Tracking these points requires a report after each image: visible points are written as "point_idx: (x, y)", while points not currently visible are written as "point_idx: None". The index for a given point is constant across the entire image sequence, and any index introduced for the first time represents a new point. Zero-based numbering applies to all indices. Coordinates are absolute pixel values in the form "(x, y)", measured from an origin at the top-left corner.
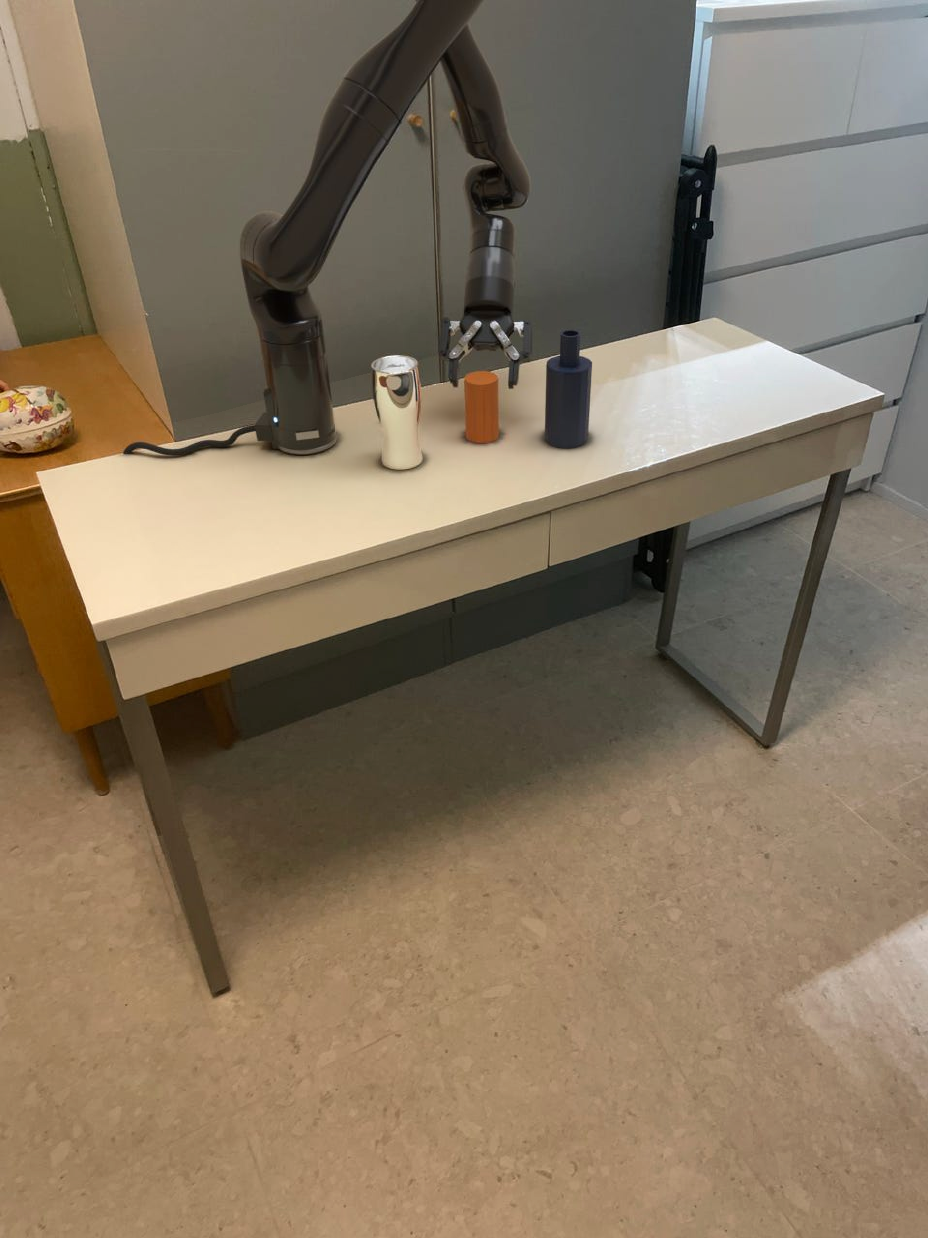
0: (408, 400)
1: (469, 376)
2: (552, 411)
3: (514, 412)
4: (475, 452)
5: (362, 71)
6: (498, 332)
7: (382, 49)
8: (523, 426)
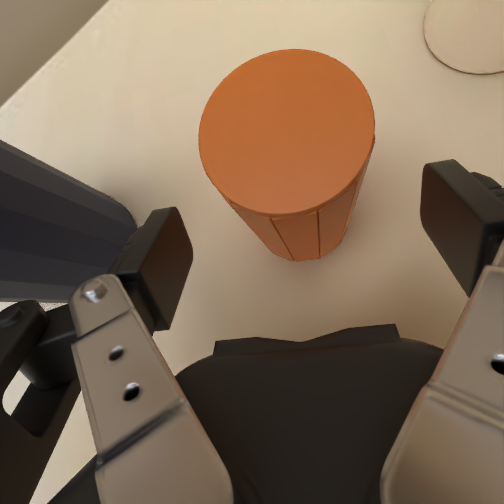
0: None
1: (348, 125)
2: (52, 168)
3: None
4: None
5: None
6: (148, 415)
7: None
8: (201, 296)
